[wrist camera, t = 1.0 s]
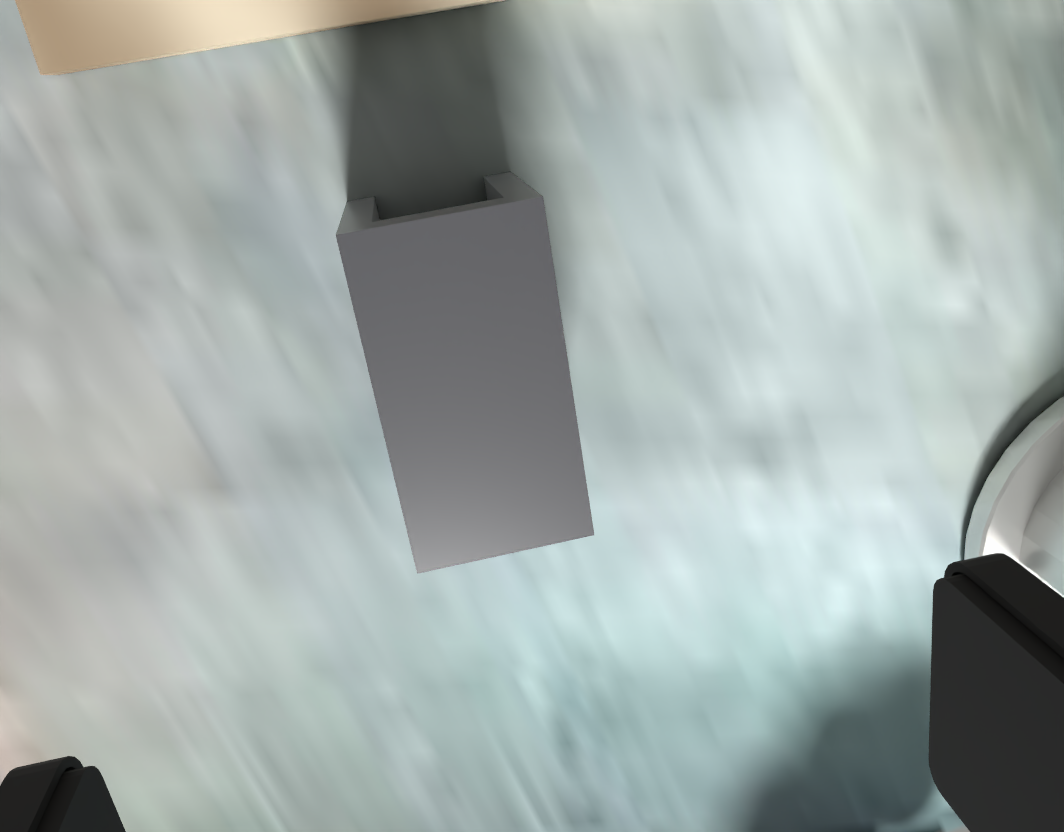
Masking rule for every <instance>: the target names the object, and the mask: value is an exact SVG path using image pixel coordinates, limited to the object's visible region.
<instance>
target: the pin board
mask: <svg viewBox="0 0 1064 832" xmlns="http://www.w3.org/2000/svg"><path fill="white" fill-rule="evenodd" d="M15 1H16V4H17V7H18V10H19V13H20V16H21V19H22V22H23V25H24V28H25V30H26V33H27V36H28V39H29V42H30V45H31V48H32V51H33V54H34V57H35V60H36V63H37V66H38V69H39V71H40V74H41V75H60V74H66V73H72V72H78V71H84V70H90V69H96V68H102V67H108V66H114V65H120V64H126V63H132V62H138V61H144V60H150V59H156V58H162V57H168V56H174V55H180V54H186V53H192V52H198V51H204V50H211V49H217V48H223V47H229V46H235V45H241V44H247V43H253V42H259V41H265V40H271V39H277V38H283V37H289V36H295V35H301V34H307V33H313V32H319V31H325V30H331V29H337V28H343V27H349V26H355V25H361V24H367V23H373V22H379V21H385V20H391V19H397V18H403V17H409V16H415V15H421V14H427V13H433V12H439V11H445V10H451V9H457V8H463V7H469V6H475V5H481V4H487V3H493V2H499V1H505V0H15Z"/></svg>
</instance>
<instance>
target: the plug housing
mask: <svg viewBox="0 0 1064 832" xmlns="http://www.w3.org/2000/svg"><path fill="white" fill-rule="evenodd" d="M484 183H485V189H486V194H487V200H488V201H482V202H477V203H472V204H466V205H461V206H455V207H450V208H444V209H439V210H434V211H428V212H423V213H417V214H412V215H406V216H401V217H396V218H390V219H385V220H380V219H379V214H378V210H377V205H376V201H375V196H374V197H369V198H363V199H358V200H352V201H347V203H346V206H345V209H344V212H343V215H342V218H341V221H340V224H339V227H338V230H337V233H336V238H337V242H338V246H339V250H340V254H341V259H342V263H343V267H344V271H345V275H346V279H347V284H348V288H349V292H350V296H351V300H352V304H353V308H354V313H355V317H356V321H357V325H358V329H359V333H360V337H361V342H362V346H363V350H364V354H365V358H366V362H367V367H368V371H369V375H370V379H371V383H372V387H373V391H374V396H375V400H376V404H377V408H378V412H379V416H380V421H381V425H382V429H383V433H384V437H385V441H386V445H387V450H388V454H389V458H390V462H391V466H392V470H393V475H394V479H395V483H396V487H397V491H398V495H399V499H400V504H401V508H402V512H403V516H404V520H405V524H406V529H407V533H408V537H409V541H410V545H411V549H412V553H413V558H414V562H415V566H416V570H417V573H422V572H427V571H431V570H436V569H440V568H445V567H450V566H454V565H459V564H463V563H468V562H473V561H477V560H482V559H486V558H491V557H495V556H500V555H505V554H509V553H514V552H518V551H523V550H528V549H532V548H537V547H541V546H546V545H551V544H555V543H560V542H564V541H569V540H574V539H578V538H583V537H587V536H592V535H594V530H593V523H592V517H591V510H590V503H589V497H588V490H587V484H586V477H585V470H584V464H583V457H582V451H581V444H580V437H579V431H578V424H577V418H576V411H575V404H574V398H573V391H572V385H571V378H570V371H569V365H568V358H567V352H566V345H565V339H564V332H563V325H562V319H561V312H560V306H559V299H558V292H557V286H556V279H555V273H554V266H553V259H552V253H551V246H550V240H549V233H548V226H547V220H546V213H545V207H544V200H543V196H542V195H540V194H539V193H538V192H536V191H535V190H534V189H532V188H531V187H530V186H528V185H527V184H526V183H524V182H523V181H522V180H521V179H519V178H518V177H517V176H515V175H514V174H513V173H511V172H506V173H500V174H495V175H489V176H484Z"/></svg>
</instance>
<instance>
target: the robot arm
mask: <svg viewBox="0 0 1064 832" xmlns="http://www.w3.org/2000/svg"><path fill="white" fill-rule="evenodd" d="M929 766H930V770H931V774H932V777H933V780H934V782H935V784H936V786H937V788H938V790H939V792H940V793H941V795H942V796H943V797H944V799H945V800H946V801H947V802H948V804H949V805H950V806H951V808H952V809H953V810H954V811H955V813H956V814H957V815H958V817H959V818H960V819H961V820H962V822H963V823H964V824H965V826H966V827H967V828H968V830H969V831H970V832H1064V396H1063V397H1062V398H1060V399H1058V400H1057V401H1056V402H1055V403H1054V404H1052V405H1051V406H1050V407H1049V408H1047V409H1046V410H1045V411H1044V412H1043V413H1041V414H1040V415H1039V416H1038V417H1036V418H1035V419H1034V420H1033V421H1032V422H1031V423H1030V424H1029V425H1028V426H1027V427H1026V428H1025V429H1024V430H1023V431H1022V432H1021V434H1020V435H1019V436H1018V437H1017V438H1016V439H1015V440H1014V441H1013V442H1012V443H1011V444H1010V446H1009V447H1008V448H1007V449H1006V451H1005V452H1004V454H1003V455H1002V457H1001V458H1000V460H999V461H998V462H997V464H996V465H995V467H994V468H993V470H992V471H991V473H990V474H989V476H988V478H987V480H986V482H985V484H984V486H983V488H982V490H981V493H980V495H979V497H978V499H977V501H976V503H975V506H974V509H973V512H972V516H971V520H970V523H969V527H968V531H967V534H966V543H965V556H964V560H962V561H957V562H953V563H951V564H950V565H948V567H947V569H946V571H945V575H944V578H941V579H939V580H937V581H936V583H935V584H934V589H933V616H932V654H931V692H930V730H929ZM0 832H126V831H125V829H124V827H123V824H122V822H121V820H120V817H119V815H118V812H117V810H116V808H115V805H114V803H113V801H112V798H111V796H110V793H109V791H108V789H107V786H106V784H105V782H104V779H103V777H102V775H101V773H100V771H99V770H98V769H97V768H96V767H95V766H88V767H83V766H82V764H81V762H80V761H79V760H78V759H77V758H75V757H72V756H67V757H62V758H58V759H53V760H49V761H44V762H40V763H35V764H31V765H26V766H21V767H17V768H15V769H13V770H11V771H10V772H9V773H8V774H7V776H6V777H5V778H4V780H3V782H2V784H1V785H0Z"/></svg>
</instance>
